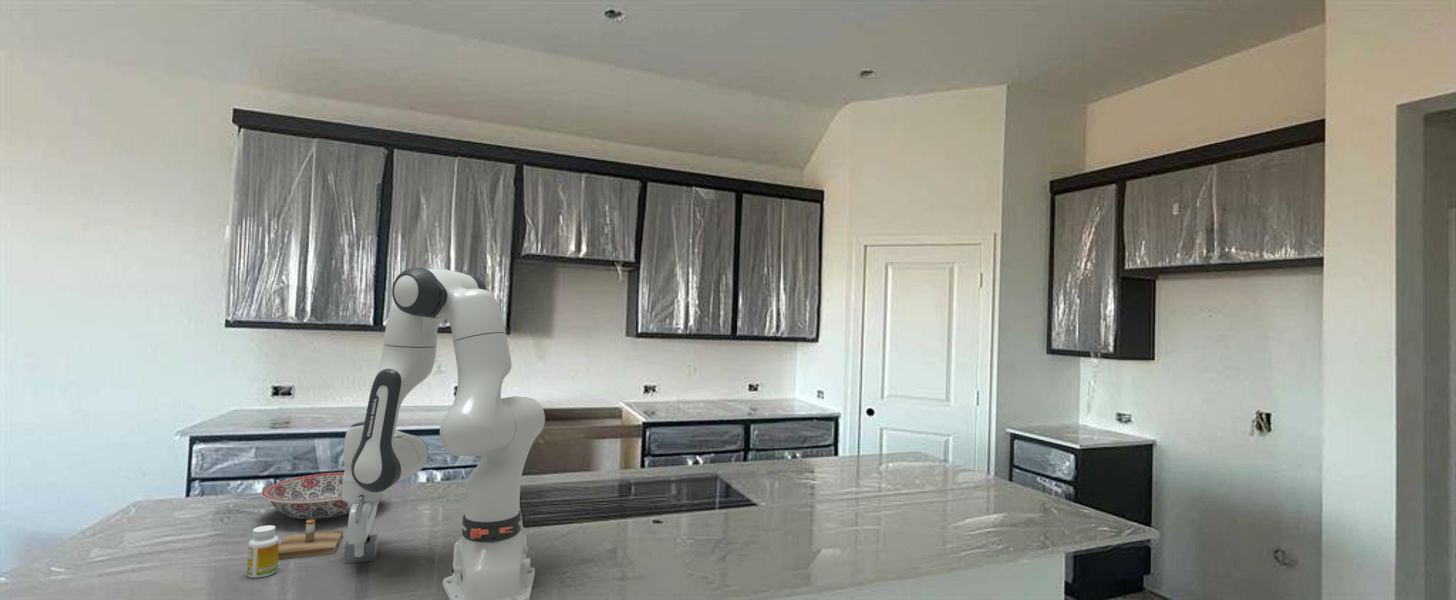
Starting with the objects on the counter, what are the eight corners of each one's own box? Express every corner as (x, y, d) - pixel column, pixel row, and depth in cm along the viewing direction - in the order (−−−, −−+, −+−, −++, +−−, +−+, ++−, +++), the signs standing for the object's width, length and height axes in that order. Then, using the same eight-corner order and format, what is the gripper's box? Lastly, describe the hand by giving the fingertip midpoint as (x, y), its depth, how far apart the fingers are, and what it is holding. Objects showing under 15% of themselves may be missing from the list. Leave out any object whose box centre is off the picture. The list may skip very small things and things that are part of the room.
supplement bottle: (283, 568, 140) (285, 524, 140) (266, 578, 135) (268, 532, 135) (258, 568, 140) (260, 523, 140) (240, 578, 135) (242, 532, 135)
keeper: (334, 553, 149) (335, 526, 149) (272, 560, 144) (273, 531, 144) (342, 536, 160) (343, 510, 160) (285, 541, 155) (286, 515, 155)
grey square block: (374, 560, 146) (375, 543, 146) (344, 563, 144) (344, 546, 144) (377, 550, 152) (378, 534, 152) (348, 554, 149) (349, 536, 149)
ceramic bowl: (377, 527, 167) (378, 496, 167) (243, 538, 157) (244, 505, 157) (391, 495, 194) (392, 469, 195) (277, 503, 184) (278, 475, 184)
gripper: (374, 501, 139) (371, 565, 139) (383, 477, 158) (381, 533, 158) (340, 504, 137) (338, 569, 137) (354, 479, 156) (352, 536, 156)
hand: (361, 549), depth 148 cm, fingers closed on grey square block, 6 cm apart
